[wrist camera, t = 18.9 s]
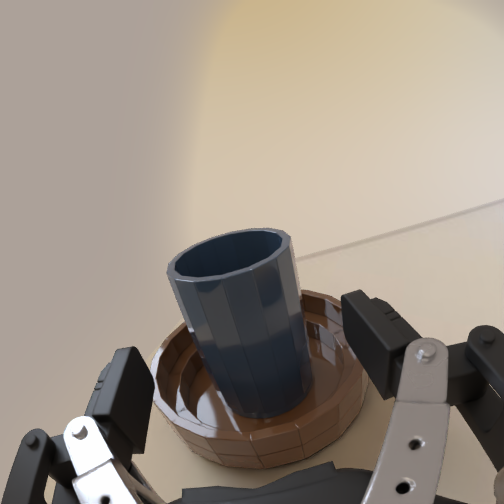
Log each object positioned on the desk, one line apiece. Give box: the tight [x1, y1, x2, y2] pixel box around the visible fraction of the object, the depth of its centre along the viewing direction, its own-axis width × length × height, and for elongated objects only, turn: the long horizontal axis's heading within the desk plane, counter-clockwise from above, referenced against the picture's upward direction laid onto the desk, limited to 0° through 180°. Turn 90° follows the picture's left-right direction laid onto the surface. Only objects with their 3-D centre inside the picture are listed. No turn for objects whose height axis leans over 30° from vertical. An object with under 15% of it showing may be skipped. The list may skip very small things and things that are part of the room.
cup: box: [167, 228, 314, 419], centre depth 17 cm, size 7×7×10 cm
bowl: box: [150, 290, 369, 469], centre depth 18 cm, size 14×14×4 cm
